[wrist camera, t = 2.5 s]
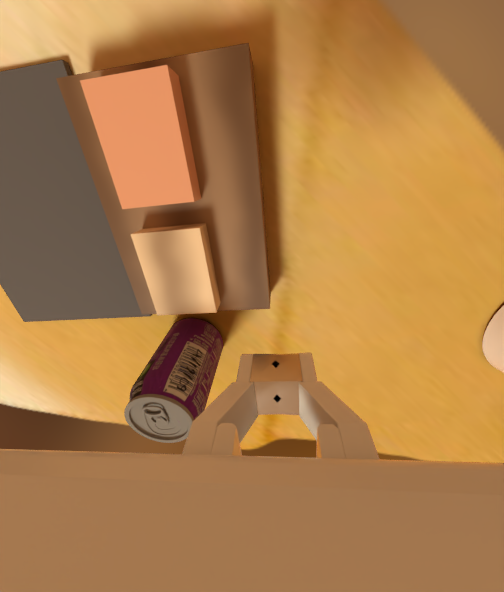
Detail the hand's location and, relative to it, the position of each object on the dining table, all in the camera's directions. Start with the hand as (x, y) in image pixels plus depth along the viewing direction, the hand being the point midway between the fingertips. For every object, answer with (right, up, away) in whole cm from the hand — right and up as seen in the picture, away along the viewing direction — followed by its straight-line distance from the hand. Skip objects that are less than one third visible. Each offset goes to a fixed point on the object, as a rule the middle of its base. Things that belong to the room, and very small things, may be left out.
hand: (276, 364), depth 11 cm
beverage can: (-8, -2, +22) cm, 23 cm away
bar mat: (-24, +11, +16) cm, 31 cm away
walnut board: (-7, +12, +14) cm, 19 cm away
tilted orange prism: (-9, +15, +8) cm, 19 cm away
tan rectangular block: (-8, +6, +13) cm, 16 cm away
